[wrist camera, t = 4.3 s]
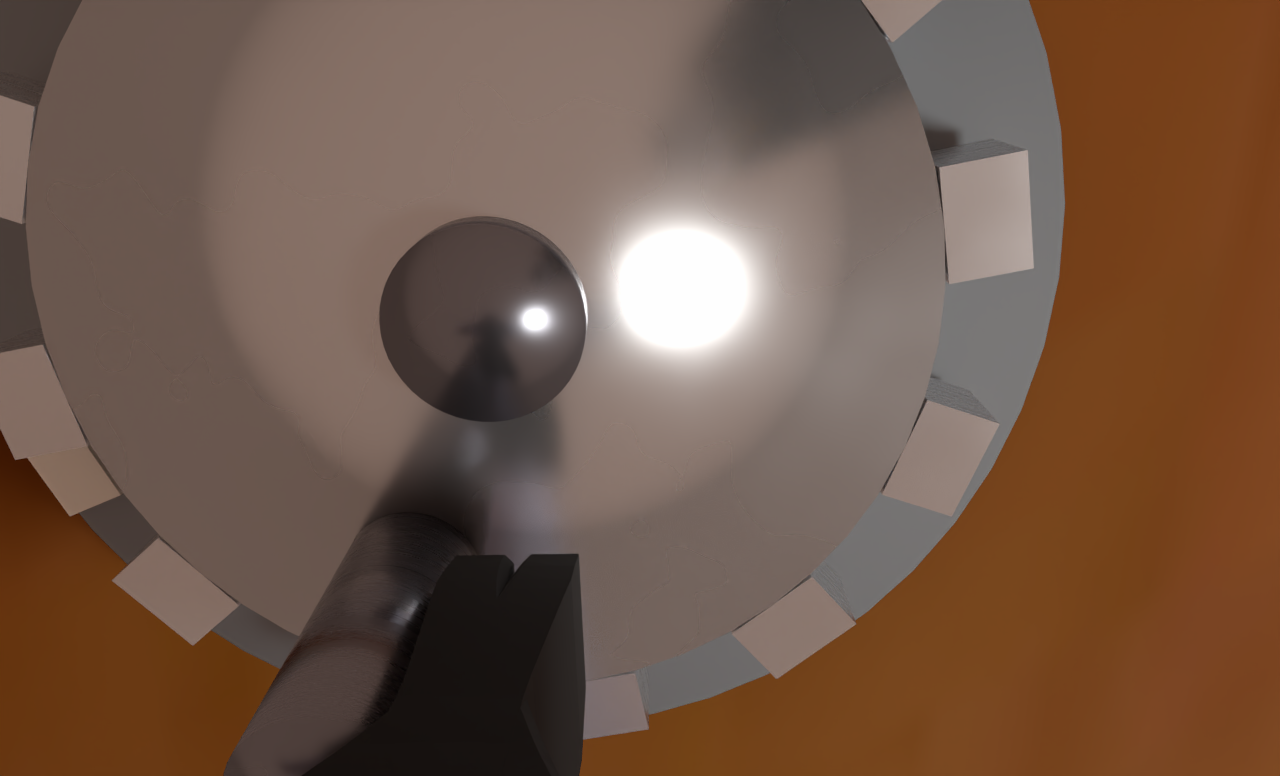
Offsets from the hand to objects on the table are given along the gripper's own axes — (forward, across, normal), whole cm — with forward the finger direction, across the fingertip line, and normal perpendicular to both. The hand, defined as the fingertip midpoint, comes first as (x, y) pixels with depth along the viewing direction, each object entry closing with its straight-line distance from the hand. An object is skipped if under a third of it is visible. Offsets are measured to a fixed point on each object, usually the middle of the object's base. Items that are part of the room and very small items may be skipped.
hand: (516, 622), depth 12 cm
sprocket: (+2, 0, -4) cm, 4 cm away
